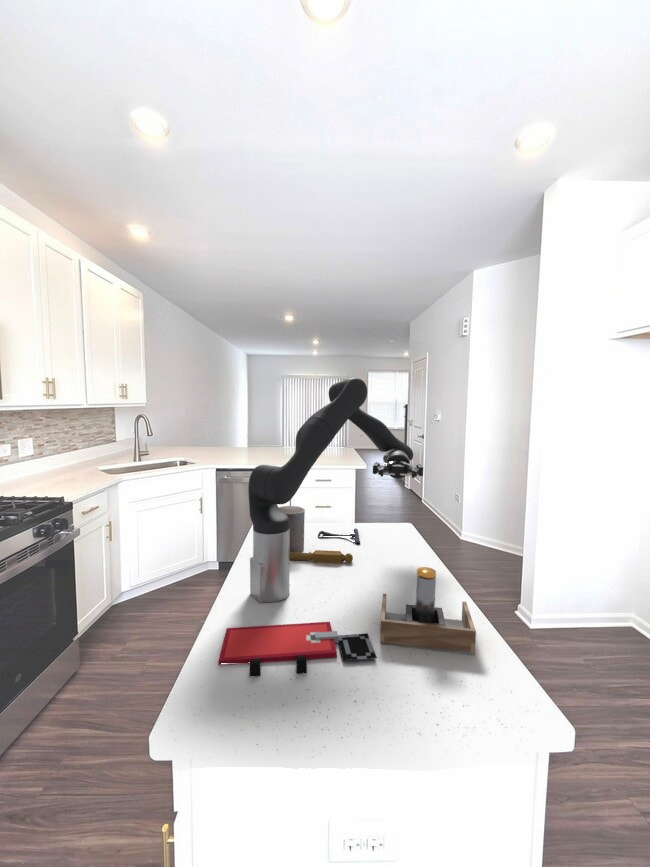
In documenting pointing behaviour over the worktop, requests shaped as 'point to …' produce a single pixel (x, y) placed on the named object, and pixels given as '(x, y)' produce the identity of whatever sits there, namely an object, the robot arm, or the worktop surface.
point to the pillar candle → (295, 526)
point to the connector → (425, 595)
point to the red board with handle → (291, 645)
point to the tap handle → (322, 556)
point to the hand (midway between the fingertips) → (397, 473)
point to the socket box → (428, 630)
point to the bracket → (343, 535)
